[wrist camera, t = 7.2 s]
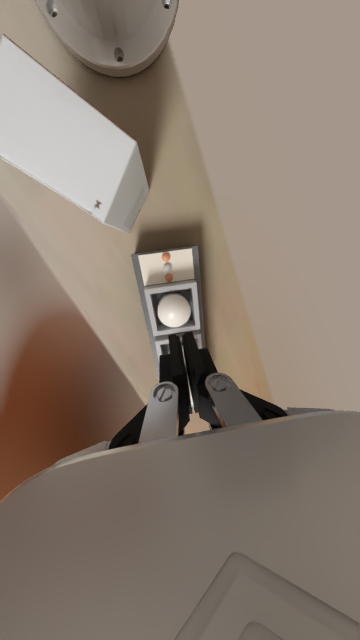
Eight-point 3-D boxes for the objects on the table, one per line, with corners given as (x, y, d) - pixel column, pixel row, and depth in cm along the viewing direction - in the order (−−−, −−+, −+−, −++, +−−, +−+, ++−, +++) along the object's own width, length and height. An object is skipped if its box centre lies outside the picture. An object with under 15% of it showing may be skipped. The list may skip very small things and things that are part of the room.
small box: (150, 190, 21) (141, 142, 11) (129, 234, 22) (105, 225, 13) (82, 139, 18) (-3, 22, 9) (64, 193, 20) (-25, 143, 10)
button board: (134, 253, 23) (128, 255, 19) (193, 245, 24) (201, 245, 19) (163, 389, 33) (163, 412, 28) (204, 382, 33) (212, 403, 29)
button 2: (155, 294, 22) (154, 298, 20) (186, 289, 22) (188, 294, 20) (160, 323, 24) (160, 329, 22) (189, 318, 24) (192, 324, 22)
